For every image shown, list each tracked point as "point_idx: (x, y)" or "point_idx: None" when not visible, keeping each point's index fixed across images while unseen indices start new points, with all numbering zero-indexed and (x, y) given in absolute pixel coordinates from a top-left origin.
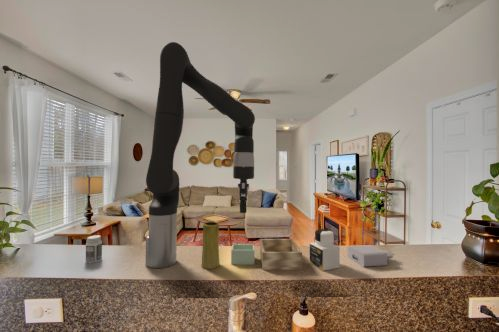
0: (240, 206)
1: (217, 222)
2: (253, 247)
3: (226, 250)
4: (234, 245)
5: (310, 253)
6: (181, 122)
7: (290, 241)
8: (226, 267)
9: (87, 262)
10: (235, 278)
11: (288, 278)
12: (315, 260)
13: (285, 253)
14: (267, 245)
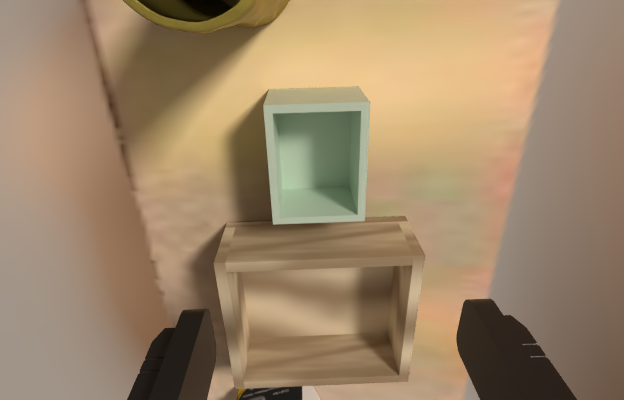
0: (163, 369)
1: (235, 12)
2: (313, 219)
3: (465, 40)
4: (360, 114)
5: (294, 396)
6: None
7: (397, 366)
8: (230, 68)
9: None
10: (129, 120)
11: (171, 295)
12: (268, 391)
13: (227, 339)
14: (401, 270)
